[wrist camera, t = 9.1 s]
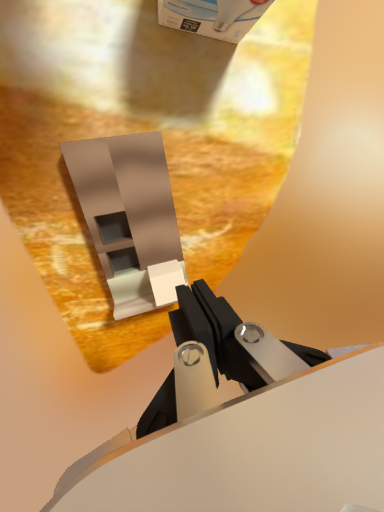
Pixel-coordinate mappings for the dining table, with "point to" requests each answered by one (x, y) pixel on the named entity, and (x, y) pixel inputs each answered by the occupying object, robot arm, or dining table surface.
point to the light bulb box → (212, 16)
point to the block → (165, 281)
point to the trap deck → (127, 212)
